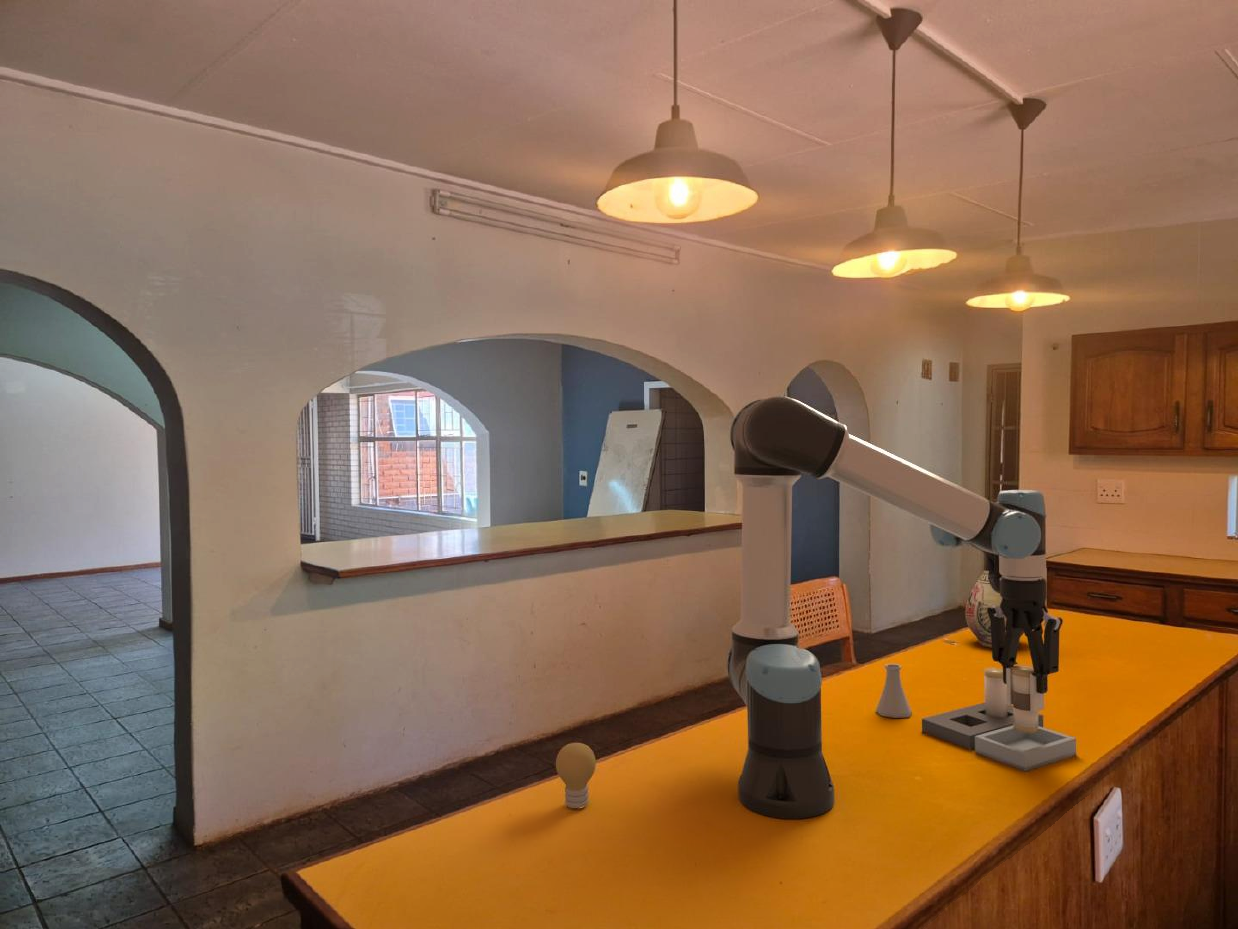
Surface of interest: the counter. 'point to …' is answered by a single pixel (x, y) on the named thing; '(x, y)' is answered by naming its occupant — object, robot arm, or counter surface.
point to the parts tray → (1025, 747)
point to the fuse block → (967, 724)
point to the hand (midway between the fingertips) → (1025, 706)
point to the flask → (893, 695)
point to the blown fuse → (1023, 700)
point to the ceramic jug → (985, 600)
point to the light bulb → (576, 772)
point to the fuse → (995, 693)
